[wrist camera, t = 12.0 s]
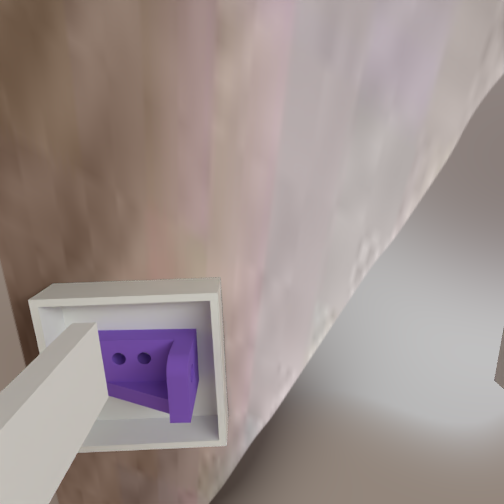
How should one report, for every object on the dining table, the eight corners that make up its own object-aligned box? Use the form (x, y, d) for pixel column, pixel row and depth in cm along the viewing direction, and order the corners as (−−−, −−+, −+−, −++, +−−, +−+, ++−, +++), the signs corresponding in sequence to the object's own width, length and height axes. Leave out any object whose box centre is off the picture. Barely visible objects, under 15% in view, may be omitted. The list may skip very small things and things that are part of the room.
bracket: (196, 328, 39) (187, 362, 33) (199, 380, 41) (190, 422, 35) (90, 330, 39) (59, 365, 33) (98, 382, 41) (70, 425, 34)
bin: (52, 283, 38) (28, 300, 34) (220, 277, 39) (217, 292, 34) (79, 423, 43) (61, 453, 39) (228, 416, 43) (226, 445, 39)
